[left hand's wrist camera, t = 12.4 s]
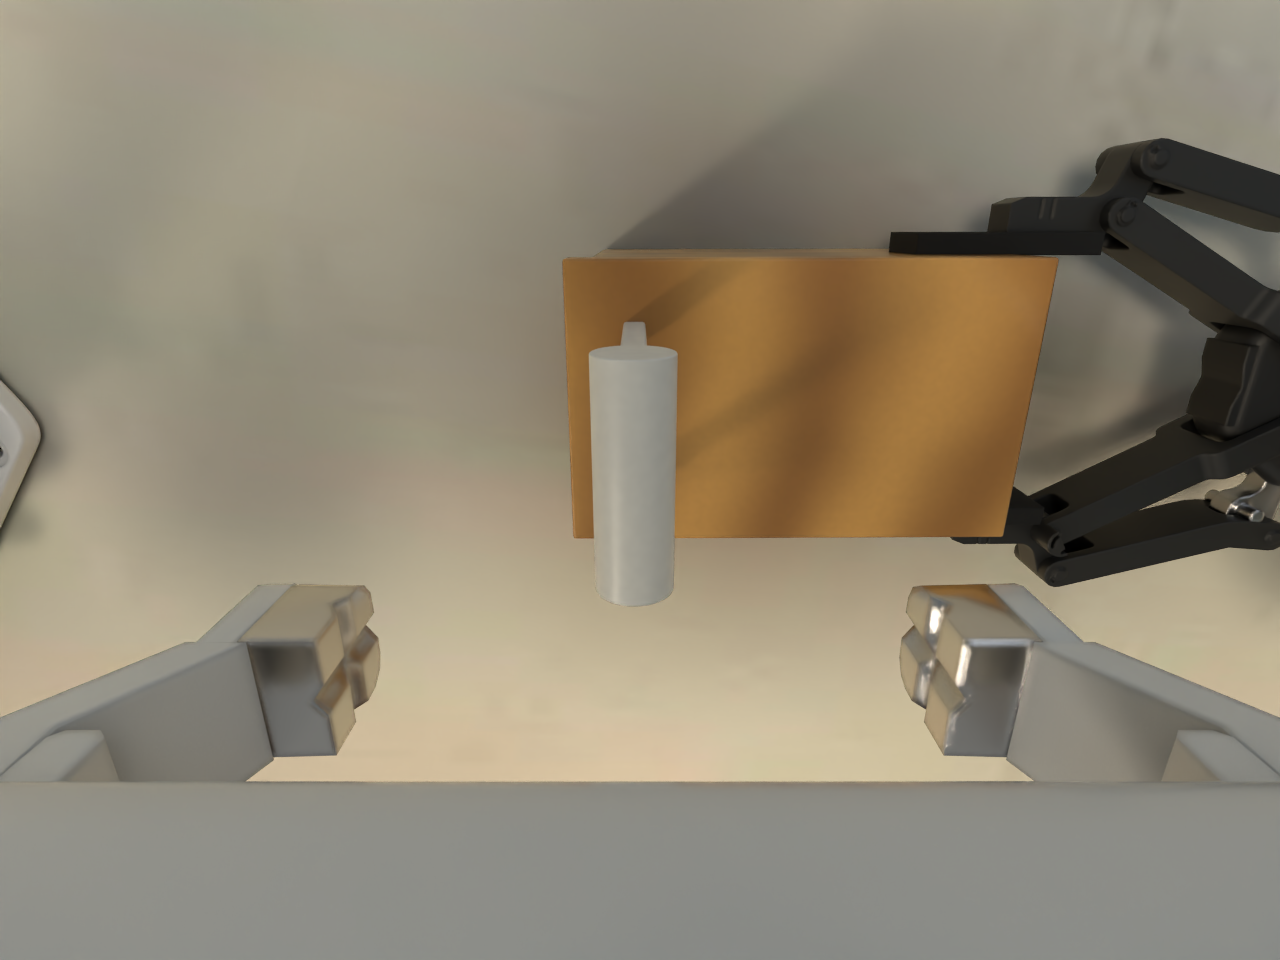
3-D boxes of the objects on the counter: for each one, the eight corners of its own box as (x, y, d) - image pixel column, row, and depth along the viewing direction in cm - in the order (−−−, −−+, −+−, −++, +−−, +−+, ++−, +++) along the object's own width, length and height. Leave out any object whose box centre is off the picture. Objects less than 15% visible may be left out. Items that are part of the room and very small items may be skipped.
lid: (576, 526, 26) (546, 668, 17) (565, 257, 22) (522, 274, 14) (988, 524, 26) (1156, 665, 17) (1040, 255, 22) (1278, 271, 14)
